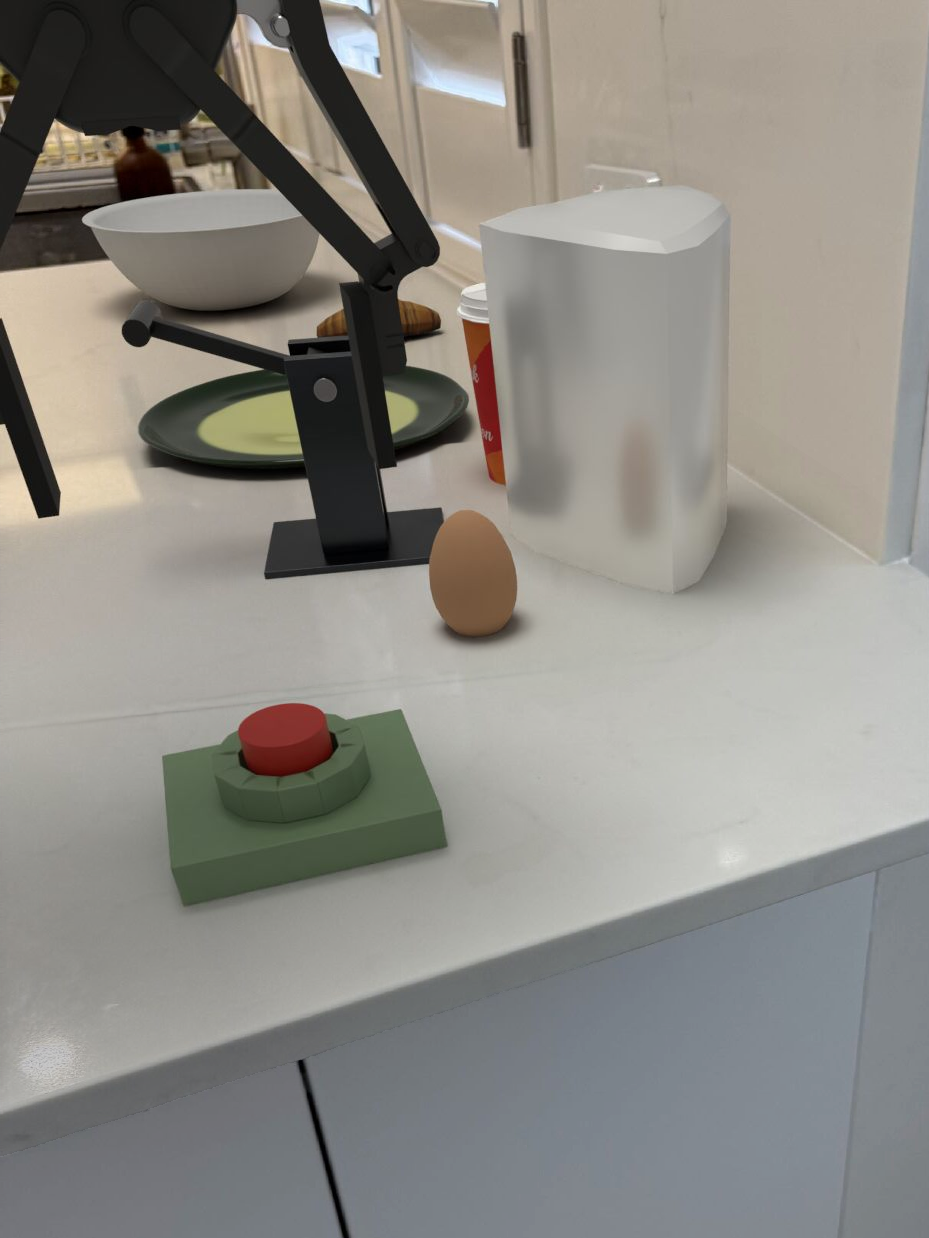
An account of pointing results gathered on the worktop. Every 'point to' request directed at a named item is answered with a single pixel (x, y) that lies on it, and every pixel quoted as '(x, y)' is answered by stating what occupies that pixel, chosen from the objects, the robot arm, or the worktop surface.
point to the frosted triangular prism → (614, 379)
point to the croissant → (412, 319)
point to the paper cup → (483, 375)
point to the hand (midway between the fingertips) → (222, 481)
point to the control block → (298, 811)
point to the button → (285, 739)
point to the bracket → (341, 478)
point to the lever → (197, 339)
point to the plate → (283, 417)
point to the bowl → (208, 246)
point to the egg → (472, 575)
